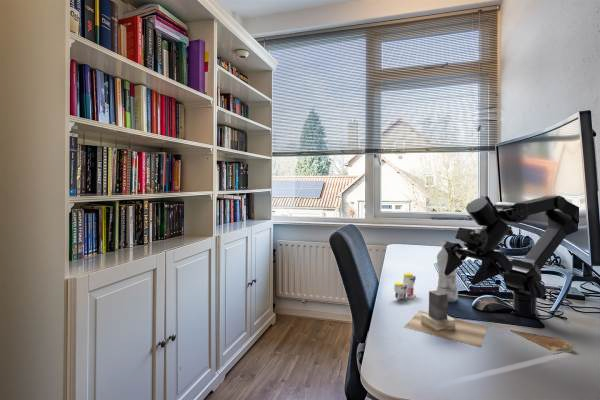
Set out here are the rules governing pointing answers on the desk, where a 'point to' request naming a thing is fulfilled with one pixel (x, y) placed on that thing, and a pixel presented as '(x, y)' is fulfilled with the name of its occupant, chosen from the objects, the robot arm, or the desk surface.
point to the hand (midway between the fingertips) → (457, 279)
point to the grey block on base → (438, 313)
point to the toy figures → (405, 287)
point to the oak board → (452, 330)
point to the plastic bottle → (446, 282)
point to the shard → (546, 341)
